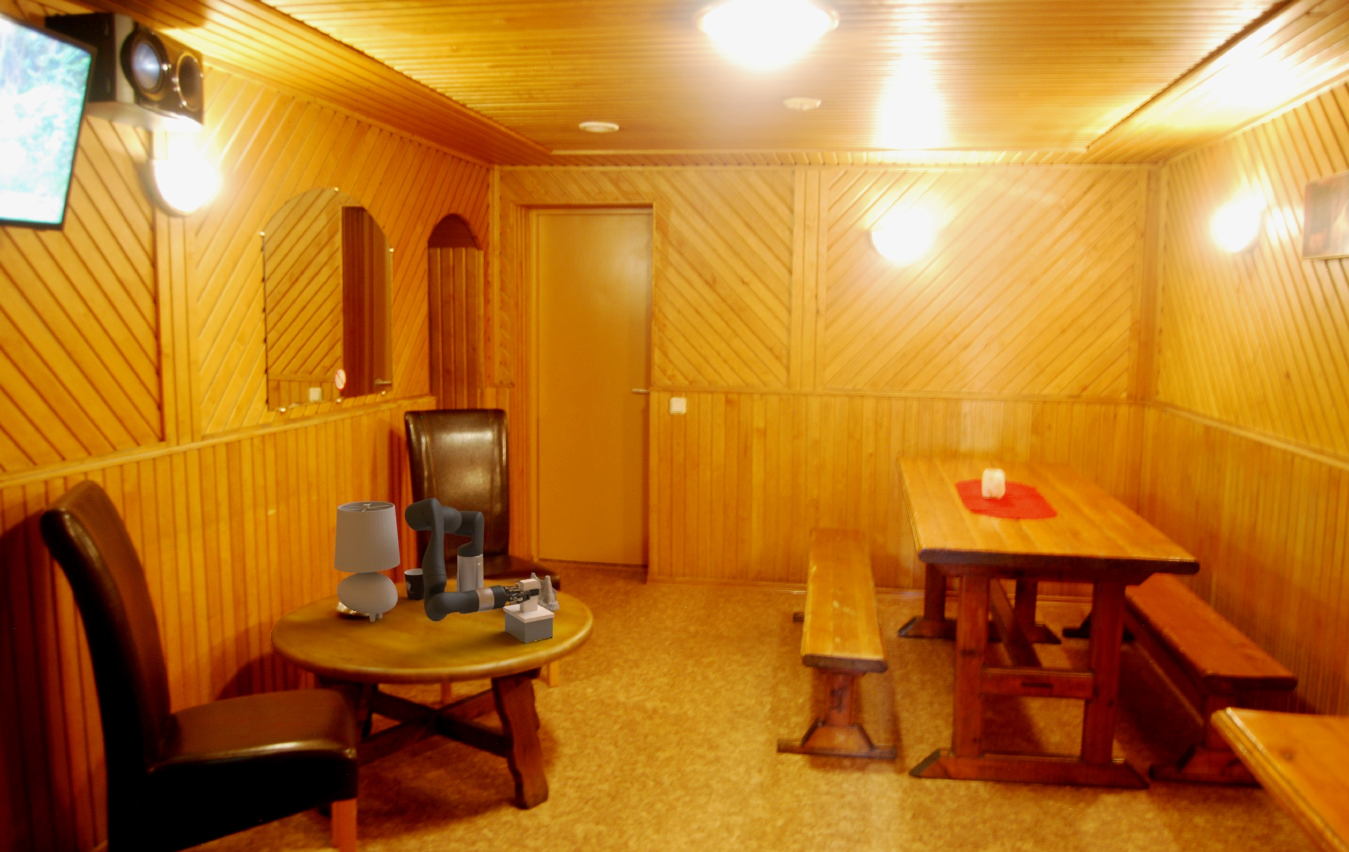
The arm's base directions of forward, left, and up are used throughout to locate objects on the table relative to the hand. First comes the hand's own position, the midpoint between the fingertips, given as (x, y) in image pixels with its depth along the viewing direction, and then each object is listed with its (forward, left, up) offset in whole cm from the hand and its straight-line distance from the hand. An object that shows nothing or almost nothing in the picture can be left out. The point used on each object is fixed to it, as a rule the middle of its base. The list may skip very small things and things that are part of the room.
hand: (536, 590), depth 311 cm
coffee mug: (-61, -9, -15) cm, 63 cm away
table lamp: (-53, -33, -15) cm, 64 cm away
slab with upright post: (-1, -3, -9) cm, 10 cm away
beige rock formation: (-22, +16, -15) cm, 31 cm away
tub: (-1, -3, -14) cm, 15 cm away
